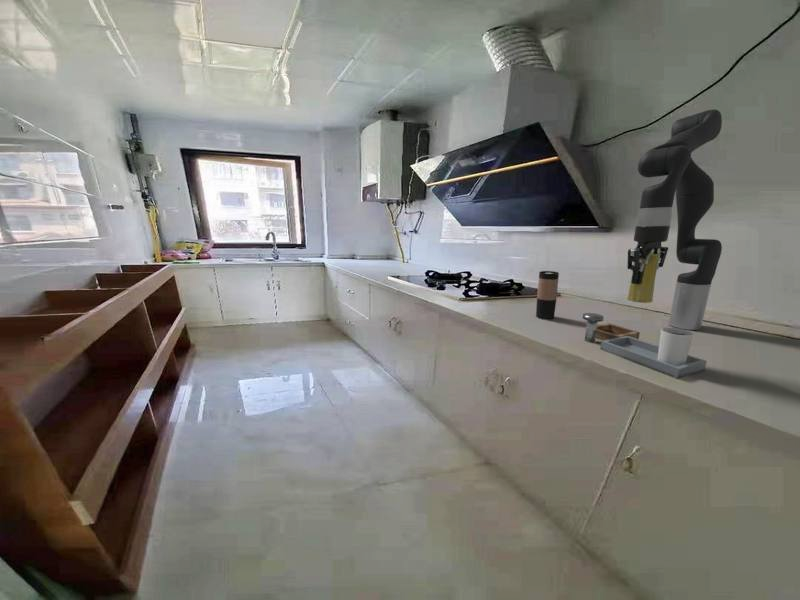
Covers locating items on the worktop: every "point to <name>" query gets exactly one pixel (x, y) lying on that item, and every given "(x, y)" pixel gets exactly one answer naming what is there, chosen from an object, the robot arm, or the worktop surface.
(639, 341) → the tray
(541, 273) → the travel mug
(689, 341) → the white cup
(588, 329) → the knob post
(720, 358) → the worktop surface
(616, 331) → the holder
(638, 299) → the vase
